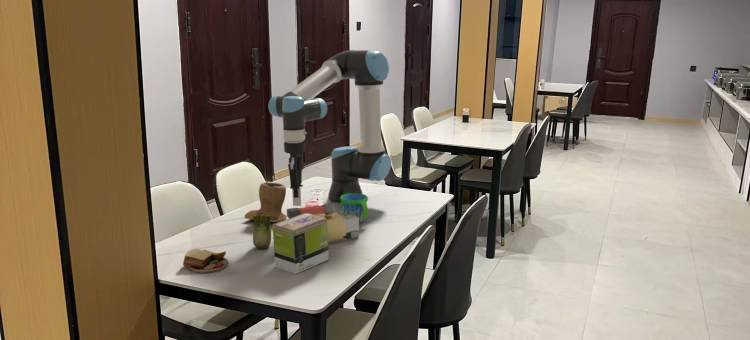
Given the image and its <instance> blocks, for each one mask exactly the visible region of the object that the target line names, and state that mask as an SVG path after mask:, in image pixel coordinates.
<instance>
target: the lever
mask: <svg viewBox="0 0 750 340" xmlns="http://www.w3.org/2000/svg"><path fill="white" fill-rule="evenodd" d="M334 212H335V204H333V203H324V204H322V205H315V206H305V207H292V208H286V216H287V219H289V218H292V217H295V216H298V215H301V214H304V213H308V214H312V215H319V214H332V213H334Z"/></svg>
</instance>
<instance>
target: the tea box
mask: <svg viewBox="0 0 750 340" xmlns="http://www.w3.org/2000/svg"><path fill="white" fill-rule="evenodd" d="M272 239H273V254H274V255H273V257H274V267H275V268H278V269H280V270H282V271H285V272H289V273H291V274H294V275H297V274H298V273H299V274H300V273H301V272H303V271H306V270H308V269H311V268H312V267H315V266H317V265H320V264H322V263H324V262H327V261H329V259H330V258H329V257H330V255H329V244H328V231H327V218H324V217H320V216H316V215H312V214H308V213H304V214H301V215H298V216H295V217H292V218H286V219H285V220H283V221H281V222H274V223H272Z"/></svg>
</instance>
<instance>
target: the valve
mask: <svg viewBox="0 0 750 340" xmlns="http://www.w3.org/2000/svg"><path fill="white" fill-rule="evenodd" d="M316 216H320V217H324V218H327V231H328V245H332V244H336V243H337V244H338V243H342V242H346V240H347V239H346V238H349V239H350V240H355V239H359V230H360V224H359V217H357V216H355V215H353V214H350V215H345V216H344V215H340V214H338V213H336V212H335V211H334V213H332V214H317V215H316ZM345 236H346V237H345Z"/></svg>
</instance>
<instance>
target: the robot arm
mask: <svg viewBox="0 0 750 340" xmlns="http://www.w3.org/2000/svg"><path fill="white" fill-rule="evenodd" d="M389 69H390V66H389V62H388V59H387V57H386V56H385V55H384V53H383V52H381V51H377V50H373V49H372V50H354V49H348V50H345V51H342V52H339V53H337V54H335V55H333V56H331V57H330V58H328V59H327V60H325V61H324V62H323V63H322V65H321V67H320V68H319V69H318V70H316V71H314V73H312V74H311V75H309V76H308V77H306V78H305V79H304V80H302V81H301V82H299V84H297V85H296V86H295V87H293V88H291V90H289V91H288V92H286V93H285V94H283V95H281V96H280V95H278V96H272V97H271V98H270V99H269V101H268V105H267V106H268V111H269V114H270V115H272V116H273V117H279V118H282V126H283V127H282V128H283V129H282V130H283V134H282V135H283V141H284V142H283V150H284V153H286V154H289V155H290V156H289V158H288V165H287V167H288V172H289V181H290V182H289V183H290V187H289V189H290V190H291V191H292V206H294V207H301V206H302V187H304V184H302V183H303V182H302V181H303V180H302V178H303V175H302V173H303V171H302V170H303V156H301V154H303V153H305V152H306V150H307V147H306V146H307V145H306V141H305V140H306V135H307V134H308V133H307V131H305V129H306V127H305V126H306V122H311V121H314V120H315V121H316V120H320V119H323V118H324V117H325V116H326V115H327V113H328V104H327V103H326V101H325V100H324V99H323V98H320V97H316V96H318V95H319V94H320V93H322V92H323V91H324V90H326V89H327V88H328V87H330V85H332V84H333V83H334V84H335V83H339V82H340V81H341V80H349V79H350V80H354V86H355V87H356V88H358V104H359V105H358V107H359V108H358V109H359V132H360V134H359V135H360V146H359V147H358V146H357V145H349V146H340V147H336V148H334V149H333V150H332V152H331V184H330V187H329V191H328V192H327V193H328V195H327V196H328V201H330V202H331V203H338V204H341V201H340V198H341V196H342V195H344V194H349V193H359V194H363V191H362V188H361V185H360V182H359V179H362V180H368V181H371V182H375V181H376V182H381V181H383V180H385V179H386V178H387V177H388V174H389V172H390V170H391V165H392V161H391V160H392V159H391V157H390V155H389V154H387V153H386V148H385V147H384V145H382V128H381V127H382V125H381V123H382V121H381V92H380V90H381V87H382V86H383V85H384V81H385V80H386V79H387V78H388V74H389V72H390V71H389Z"/></svg>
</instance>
